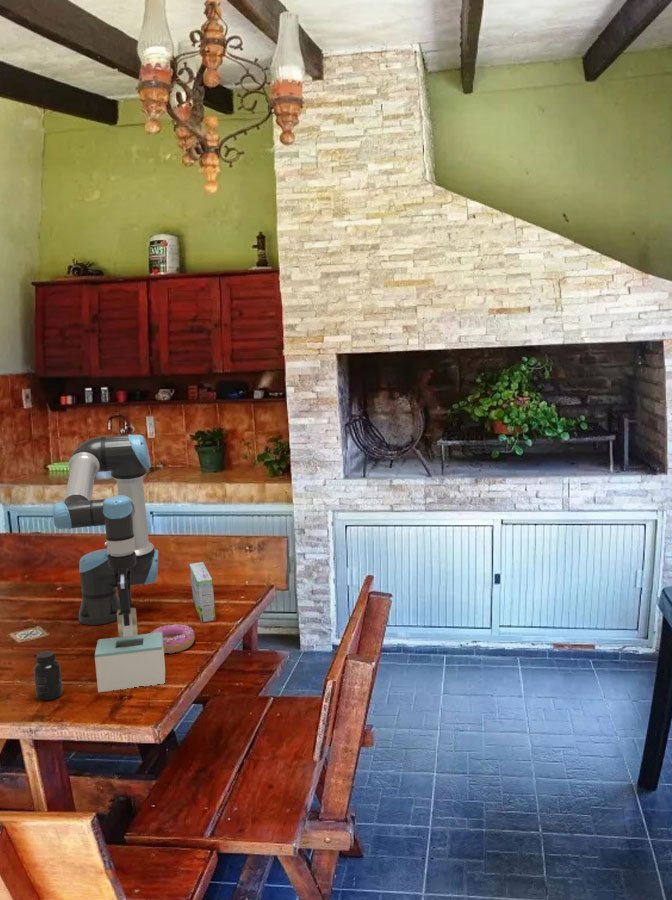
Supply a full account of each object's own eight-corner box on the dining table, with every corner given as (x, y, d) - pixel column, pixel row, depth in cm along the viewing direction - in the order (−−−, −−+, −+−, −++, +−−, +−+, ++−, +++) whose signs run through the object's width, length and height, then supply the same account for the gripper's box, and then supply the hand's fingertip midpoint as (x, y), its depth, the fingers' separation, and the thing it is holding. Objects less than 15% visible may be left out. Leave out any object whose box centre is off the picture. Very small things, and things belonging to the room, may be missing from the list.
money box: (101, 675, 226) (98, 639, 224) (165, 667, 229) (162, 631, 227) (98, 692, 215) (94, 654, 213) (164, 683, 218) (161, 646, 217)
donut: (204, 642, 247) (203, 627, 246) (172, 659, 235) (171, 643, 234) (171, 634, 255) (170, 619, 254) (138, 650, 243) (137, 635, 242)
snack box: (191, 603, 282) (188, 563, 280) (207, 601, 284) (204, 561, 282) (200, 623, 262) (197, 580, 260) (216, 621, 264) (213, 578, 262)
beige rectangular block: (119, 633, 221) (117, 609, 220) (137, 631, 222) (135, 607, 221) (118, 637, 218) (116, 613, 217) (137, 635, 219) (135, 611, 218)
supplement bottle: (67, 694, 215) (63, 653, 213) (44, 704, 210) (39, 661, 208) (55, 687, 219) (50, 647, 217) (31, 696, 214) (27, 655, 212)
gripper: (109, 546, 223) (116, 624, 227) (105, 562, 208) (112, 645, 211) (136, 543, 225) (143, 621, 228) (134, 559, 209) (141, 642, 213)
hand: (128, 633), depth 220 cm, fingers closed on beige rectangular block, 3 cm apart
